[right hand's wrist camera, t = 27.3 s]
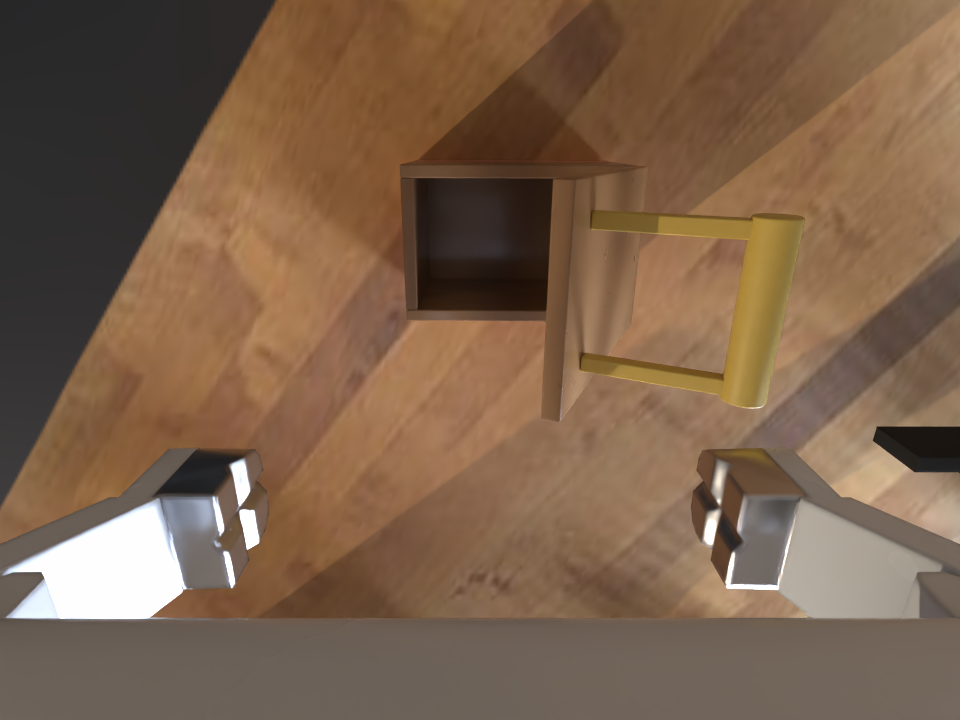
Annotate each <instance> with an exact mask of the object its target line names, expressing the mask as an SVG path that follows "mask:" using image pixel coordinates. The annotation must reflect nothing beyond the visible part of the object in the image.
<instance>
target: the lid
mask: <svg viewBox="0 0 960 720" xmlns="http://www.w3.org/2000/svg"><path fill="white" fill-rule="evenodd" d="M647 174H648V166H630V167H624V168H617V169H611V170H604V171H598V172H591V173H585V174H578V175H572V176H565V177H559V178H554V179H553V191H552V211H551V231H550V251H549V271H548V291H547V311H546V331H545V351H544V371H543V391H542V411H541V418H542V419H546V420H550V421H555V422H560V421H561V420H562V419H563V417H564V416H565V415H566V413H567V412H568V410H569V409H570V408H571V406H572V405H573V404H574V402H575V401H576V399H577V398H578V397H579V395H580V394H581V393H582V391H583V390H584V389H585V387H586V386H587V384H588V383H589V382H590V380H591V379H592V378H593V376H594V375H595V374H600V375H605V376H611V377H617V378H623V379H629V380H635V381H640V382H646V383H652V384H658V385H664V386H670V387H675V388H681V389H687V390H693V391H699V392H705V393H710V394H716V395H720V397H721V399H722V400H723V401H725V402H726V403H728V404H731V405H734V406H737V407H742V408H760V407H763V406H764V405H765V404H766V401H767V396H768V391H769V387H770V382H771V377H772V373H773V368H774V363H775V358H776V354H777V349H778V344H779V340H780V335H781V330H782V326H783V321H784V316H785V311H786V307H787V302H788V297H789V293H790V288H791V283H792V279H793V274H794V269H795V264H796V260H797V255H798V250H799V246H800V241H801V236H802V231H803V227H804V222H805V218H804V217H801V216H797V215H789V214H772V213H763V214H754V215H752V217H751V218H740V217H721V216H701V215H682V214H663V213H644V212H643V211H644V201H645V192H646V183H647ZM641 233H651V234H666V235H681V236H696V237H711V238H726V239H741V240H747V244H746V250H745V255H744V261H743V266H742V272H741V278H740V283H739V289H738V295H737V300H736V306H735V311H734V317H733V323H732V328H731V334H730V340H729V345H728V351H727V356H726V362H725V368H724V373H723V374H719V373H712V372H706V371H700V370H693V369H687V368H681V367H674V366H668V365H661V364H655V363H649V362H642V361H636V360H630V359H623V358H617V357H610V356H609V354H610V353H611V351H612V350H613V349H614V347H615V346H616V345H617V343H618V342H619V340H620V339H621V338H622V336H623V335H624V334H625V332H626V331H627V329H628V328H629V327H630V325H631V321H632V312H633V303H634V294H635V284H636V275H637V266H638V257H639V248H640V238H641Z"/></svg>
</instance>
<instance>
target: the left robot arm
mask: <svg viewBox="0 0 960 720" xmlns="http://www.w3.org/2000/svg"><path fill="white" fill-rule="evenodd" d="M873 441H874V442H875V443H877V444H878V445H879V446H881V447H882V448H883V449H885V450H886V451H887V452H889V453H890V454H891V455H893V456H894V457H895V458H897V459H898V460H899V461H901V462H902V463H903V464H905V465H906V466H907V467H908V468H910V469H911V470H912V471H914V472H959V473H960V427H877V428H876V432H875V435H874V439H873Z"/></svg>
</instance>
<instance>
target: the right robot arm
mask: <svg viewBox="0 0 960 720" xmlns="http://www.w3.org/2000/svg"><path fill="white" fill-rule="evenodd" d="M262 472H263V466H262V461H261V456H260V454H259V453H258V452H257V450H256V449H221V448H202V449H201V448H174V449H168V450H167V451H166V452H165V453H164V454H163V455H162V456H161V457H160V458H159V459H158V460H157V461H156V462H155V463H154V464H153V465H152V466H151V467H150V468H149V469H148V470H147V471H146V472H145V473H144V474H142V475H141V476H140V477H139V478H138V479H137V480H136V481H135V482H134V483H133V484H132V485H131V486H130V487H129V488H128V489H127V490H126V491H125V492H124V493H123V494H122V495H121V496H120V497H115V498H107V499H105V500H103V501H100V502H98V503H96V504H93V505H91V506H88V507H86V508H84V509H81V510H79V511H77V512H74V513H72V514H70V515H67V516H65V517H63V518H60V519H58V520H56V521H53V522H51V523H49V524H46V525H44V526H42V527H39V528H37V529H35V530H32V531H30V532H28V533H25V534H23V535H21V536H18V537H16V538H14V539H11V540H9V541H7V542H4V543H2V544H0V720H960V544H958V543H956V542H953V541H951V540H949V539H946V538H944V537H942V536H939V535H937V534H935V533H932V532H930V531H928V530H925V529H923V528H920V527H918V526H916V525H913V524H911V523H909V522H906V521H904V520H902V519H899V518H897V517H895V516H892V515H890V514H888V513H885V512H883V511H881V510H878V509H876V508H874V507H871V506H869V505H867V504H864V503H862V502H860V501H857V500H855V499H853V498H845V497H840V496H839V495H838V494H837V493H836V492H835V491H834V490H833V489H832V488H831V487H830V486H829V485H828V484H827V483H826V482H825V481H824V480H823V479H822V478H821V477H820V476H819V475H818V474H817V473H816V472H815V471H814V470H812V469H811V468H810V467H809V466H808V465H807V464H806V463H805V462H804V461H803V460H802V459H801V458H800V457H799V456H798V455H797V454H796V453H795V452H794V451H793V450H791V449H788V448H785V447H784V448H753V449H712V450H702V452H701V454H700V457H699V459H698V465H697V472H698V473H699V475H700V476H701V478H702V479H703V481H702V482H701V483H700V484H699V486H698V487H697V488H696V489H695V490H694V491H693V496H692V504H691V511H692V522H693V525H694V528H695V532H696V534H697V536H698V538H699V540H700V541H701V543H703V544H704V545H706V546H707V547H709V548H711V549H712V556H711V561H712V563H713V565H714V567H715V568H716V570H717V572H718V574H719V575H720V577H721V579H722V581H723V582H724V584H725V586H726V588H749V589H778V591H777V592H779V593H780V594H781V595H782V596H784V597H785V598H786V599H788V600H789V601H790V602H792V603H793V604H794V605H795V606H797V607H798V608H799V609H801V610H802V611H803V612H805V613H806V614H807V615H808V616H810V617H811V618H149V617H150V616H152V615H153V614H154V613H156V612H157V611H158V610H160V609H161V608H162V607H163V606H165V605H166V604H167V603H169V602H170V601H171V600H173V599H174V598H175V597H176V596H178V595H179V594H180V593H182V589H210V588H234V586H235V584H236V583H237V581H238V579H239V577H240V575H241V574H242V572H243V570H244V568H245V567H246V565H247V563H248V561H249V556H248V549H249V548H251V547H253V546H254V545H256V544H257V543H259V541H260V540H261V538H262V536H263V534H264V532H265V529H266V524H267V520H268V516H269V502H268V495H267V491H266V490H265V489H264V488H263V487H262V486H261V484H260V483H259V482H258V481H257V479H258V478H259V476H260V475H261V473H262Z"/></svg>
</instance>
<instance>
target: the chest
mask: <svg viewBox="0 0 960 720" xmlns="http://www.w3.org/2000/svg"><path fill="white" fill-rule="evenodd" d="M630 166H637V165H629V164H621V163H614V162H608V161H513V160H416V161H413V162H409V163H405V164H401V165H400V177H401V179H400V181H401V203H402V225H403V247H404V269H405V291H406V309H407V311H406V312H407V320H410V321H546V311H547V291H548V271H549V251H550V231H551V211H552V191H553V179H554V178H559V177H565V176H572V175H578V174H585V173H591V172H598V171H604V170H611V169H617V168H624V167H630Z"/></svg>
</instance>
